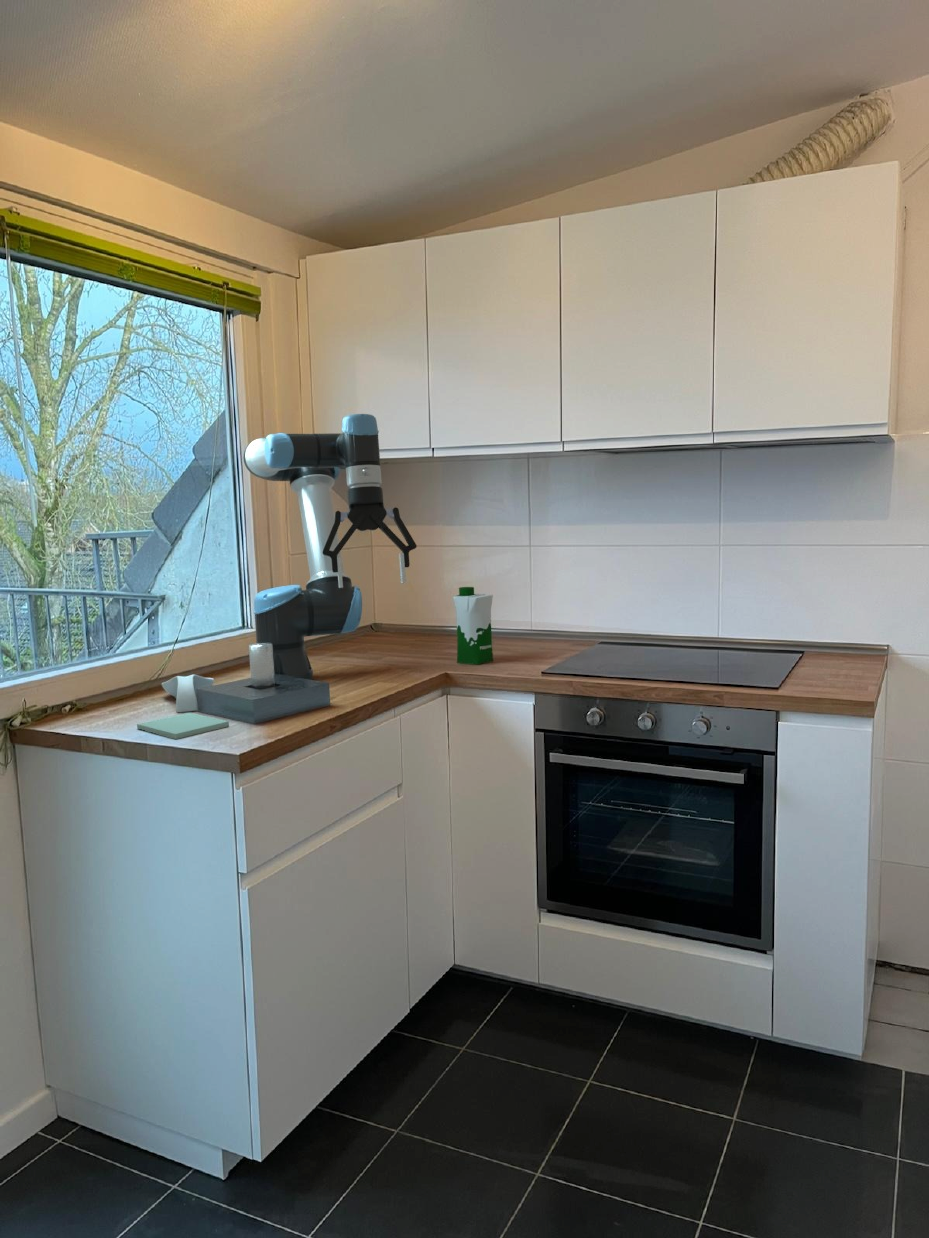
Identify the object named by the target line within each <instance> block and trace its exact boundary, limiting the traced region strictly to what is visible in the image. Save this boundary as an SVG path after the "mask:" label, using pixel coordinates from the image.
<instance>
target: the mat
mask: <svg viewBox="0 0 929 1238" xmlns="http://www.w3.org/2000/svg"><path fill="white" fill-rule="evenodd" d="M229 722H230V721H228V720H224V719H220V718H216V717H212V716H208V715H203V714H197V713H194V712H191V711H190V712H184V713H181V714H177V715H171V716H167V717H162V718H158V719H155V720H154V719H153V720H149V721H144V722H140V723H137V724H136V728H137V730H139V729H142V730H141V731H143V730H145V731H144V732H148V733H151V732H153V733H152V734H154V733H156V734H155V735H158V736H163V737H167V738H169V739H174V740H178V739H182V738H187V737H191V736H195V735H199V734H203V733H208V732H211V731H215V730H218V729H223V728H226V727H230V723H229Z"/></svg>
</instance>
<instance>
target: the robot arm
mask: <svg viewBox="0 0 929 1238" xmlns="http://www.w3.org/2000/svg"><path fill="white" fill-rule="evenodd" d="M341 425H342V426H341V431H342V433H341V432H340V433H337V432H336V433H330V432H329V433H285V432H284V433H283V432H278V433H270V434H268V435H267V436H266V437H261V438H257V439H254V440H252V441H250V443H249V444H247V446H246V447H245V449H244V452H243V463H244V466H245V467H246V469H247V471H249V473H250V474H251V475H253V476H255V477H257V478H260V479H263V480H265V481H269V482H270V481H271V482H289V486H290V490H291V491H292V492H293V493H295V494H297V499H298V500H297V501H298V506H299V507H298V508H299V512H300V519H301V525H302V531H303V539H304V545H305V552H306V557H307V565H308V570H309V580H308V581H307V582H306V583H305V589H302V586H301V585H299V584H291V585H290V584H289V585H281V586H278V587H277V586H276V587H273V588H267V589H264V590H261V591H259V592H257V593H256V594H255V596H254V599H253V600H254V603H253V606H254V607H253V614H254V623H255V624H254V626H255V627H254V628H255V639H256V641H255V642H256V643H272V644H273V660H274V674H278V675H284V676H290V677H297V678H303V679H309V680H314V670H313V667H312V665H311V663H310V660H309V657H308V654H307V651H306V648H305V640H304V639H305V638H306V637H315V636H325V635H326V636H328V635H342V634H346V633H353V632H355V631H356V630H357V629H358V627H359V625H360V623H361V619H362V613H363V595H362V594H363V593H362V591H361V589H360V587H359V586H356V585H353V583H352V579H351V577H350V576H348V575H347V574H345V573H344V572H345V571H344V566H343V559H342V554H341V550H342V549H343V548H344V547H345V546H346V544H347V542H348V541H349V540H350V539H351V537H352V536H353V534H354V533H355V532H356V530H357V531H359V532H366V531H377V530H378V529H379V530H380V531H381V532H382V533H384V534H385V535H386V537H387V538H388V539H389V540H390V541H391V542H392V543H393V544H394V545H395V546H396V547H397V548H398V549H399V550H400V552H399V553H398V559H399V570H400V573H399V574H400V583H401V584H406V583H407V578H406V577H407V576H406V568H409V567H410V564H411V563H410V552H411V551H413V550H415V549H416V548H417V544H416V542H415V540H414V539H413V536H412V535H411V533H410V531H409V530H408V528H407V526H406V525H405V523H404V521H403V520H402V519H401V515H400V510H399V508H398V507H394V508H390V509H386V508H385V505H384V494H383V493H384V492H383V491H384V490H383V488H382V487H381V485H382V484H383V482H382V481H383V480H382V471H381V458H380V457H381V455H380V443H379V432H380V431H379V429H378V428H379V427H378V423H377V418H376V417H375V416H374V415H373V414H369V413H354V414H348V415H345V416H344V417H343V419H342V423H341ZM340 470H344V471H345V474H346V475H345V476H346V486H347V487H348V489H347V502H348V503H347V504H348V511H346V512H345V511H340V510H335V512H334V505H333V499H332V493H331V489H332V488H333V487H334V485H335V483H336V482H335V481H336V480H337V479H338V477H339V475H340ZM387 516H388V517H389V518H390V519H392V520H393V521H394V523H395V525H396V527H397V528H398V530H399V532H400V533H401V536H403V539H404V541H406V543H407V545H406V544H405V543H404V542H403V541H402V540H401V539H400V538H399V537H398V535H396V534H395V533H394V532H393V531H392V530H391V528H389V526H388V525H387V524H386V523H385V522H384V520H385V518H386V517H387ZM345 519H348V520H349V521H350V523H352V525H351V526H350V527H349V528H348V530H347V531H346V533H345V534H344V535H343V536H342V538H341V540H340V541H339V536H338V530H339V528H340V525H341V523H342V522H344V521H345ZM256 643H255V644H256Z"/></svg>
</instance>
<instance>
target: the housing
mask: <svg viewBox="0 0 929 1238" xmlns="http://www.w3.org/2000/svg"><path fill="white" fill-rule="evenodd" d="M274 677H275V687H271V688H266V689H262V690H259V689H253V688H251V677H248V678H243V679H237V680H235V681H233V680H232V681H228V682H224V683H219V684H213V685H212V686H208V687H203V688H198V689H197V702H198V710H197V712H199V713H204V714H208V715H213V716H217V717H220V718H226V719H231V720H233V721H238V722H243V723H248V724H253V725H255V724H256V725H257V724H260V723H265V722H269V721H272V720H273V721H274V720H277V719H281V718H284V717H289V716H292V715H297V714H301V713H305V712H309V711H312V710H317V709H321V708H326V707H330V706H331V696H330V693H331V692H330V691H331V690H330V682H326V681H320V680H314V679H312V680H309V679H303V678H297V677H290V676H284V675H278V674H274Z"/></svg>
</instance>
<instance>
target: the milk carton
mask: <svg viewBox="0 0 929 1238" xmlns="http://www.w3.org/2000/svg"><path fill="white" fill-rule="evenodd" d="M493 596H494V595H493V594H486V593H475V587H474V586H462V587H461V586H460V587H459V588H458V595H454V596H453V597H452V599H453V602H454V604H453V605H454V608H455V613H456V640H457V645H456V647H457V650H456V663H458V664H465V665H466V664H467V665H474V664H475V665H476V666H478V665H483V664H487V663H490V662H494V655H493V644H492V641H493V639H492V603H493V598H494V597H493Z"/></svg>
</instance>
